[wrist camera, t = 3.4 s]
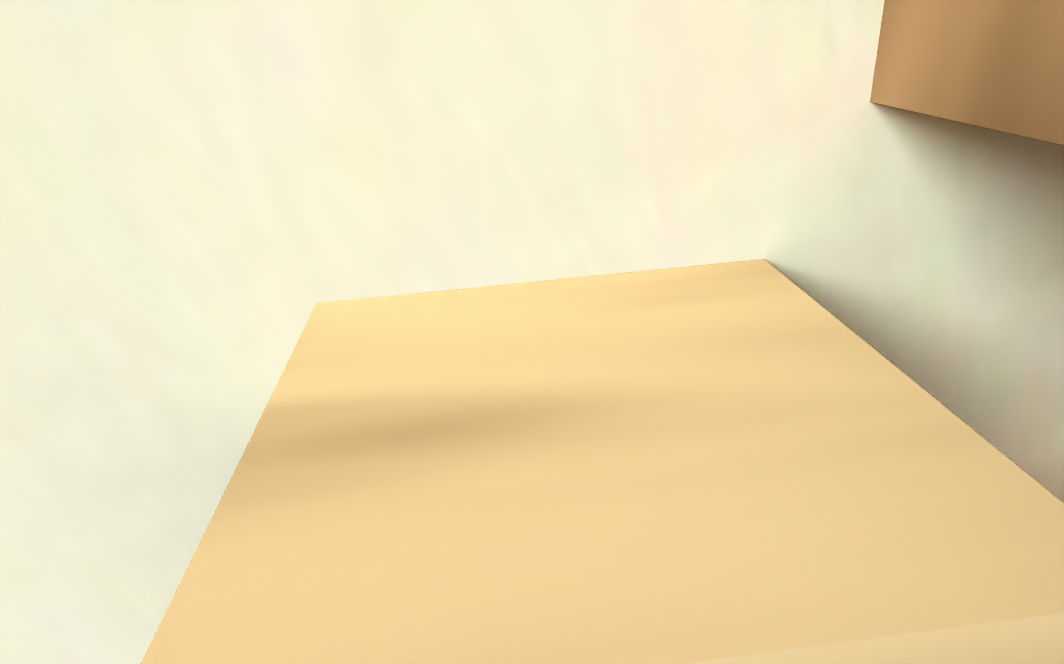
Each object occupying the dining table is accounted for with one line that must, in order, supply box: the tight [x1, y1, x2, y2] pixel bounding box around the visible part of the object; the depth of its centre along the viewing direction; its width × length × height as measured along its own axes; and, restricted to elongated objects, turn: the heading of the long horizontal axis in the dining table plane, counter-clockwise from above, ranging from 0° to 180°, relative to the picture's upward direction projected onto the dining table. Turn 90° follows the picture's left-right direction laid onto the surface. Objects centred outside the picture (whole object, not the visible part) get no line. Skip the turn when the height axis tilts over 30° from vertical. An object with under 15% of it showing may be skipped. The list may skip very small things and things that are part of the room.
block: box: [141, 259, 1064, 664], centre depth 8 cm, size 6×6×6 cm
